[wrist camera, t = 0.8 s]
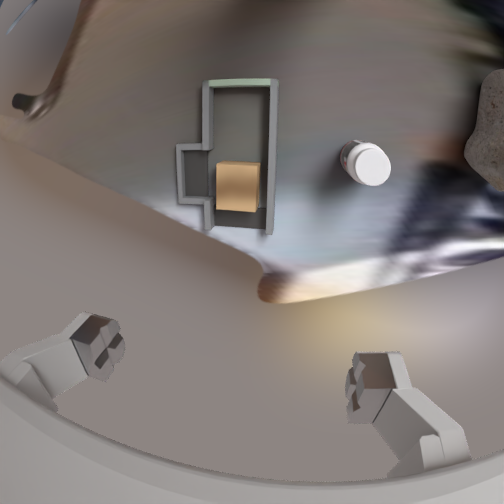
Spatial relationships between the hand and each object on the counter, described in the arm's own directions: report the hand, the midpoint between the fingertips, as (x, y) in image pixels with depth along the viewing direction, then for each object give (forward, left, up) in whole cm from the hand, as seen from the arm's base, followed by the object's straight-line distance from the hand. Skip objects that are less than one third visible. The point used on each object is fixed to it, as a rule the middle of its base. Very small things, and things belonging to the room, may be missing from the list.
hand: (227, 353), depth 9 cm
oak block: (+3, -7, -39) cm, 39 cm away
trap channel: (-2, -10, -38) cm, 39 cm away
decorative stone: (-13, +35, -39) cm, 53 cm away
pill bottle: (-3, +11, -38) cm, 40 cm away
